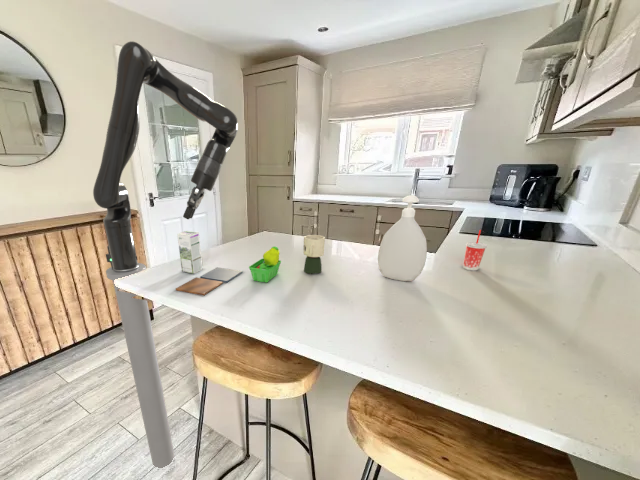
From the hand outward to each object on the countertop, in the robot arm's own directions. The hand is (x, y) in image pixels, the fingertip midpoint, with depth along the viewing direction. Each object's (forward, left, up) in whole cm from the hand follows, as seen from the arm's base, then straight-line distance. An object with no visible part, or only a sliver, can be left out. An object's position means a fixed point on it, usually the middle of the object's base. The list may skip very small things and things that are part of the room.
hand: (187, 217), depth 105 cm
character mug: (+40, +17, -20) cm, 48 cm away
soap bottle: (+68, +23, -20) cm, 75 cm away
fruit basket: (+27, +6, -20) cm, 34 cm away
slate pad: (+11, +2, -20) cm, 23 cm away
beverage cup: (+91, +43, -20) cm, 103 cm away
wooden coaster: (+10, -10, -20) cm, 25 cm away
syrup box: (-2, +2, -20) cm, 20 cm away
